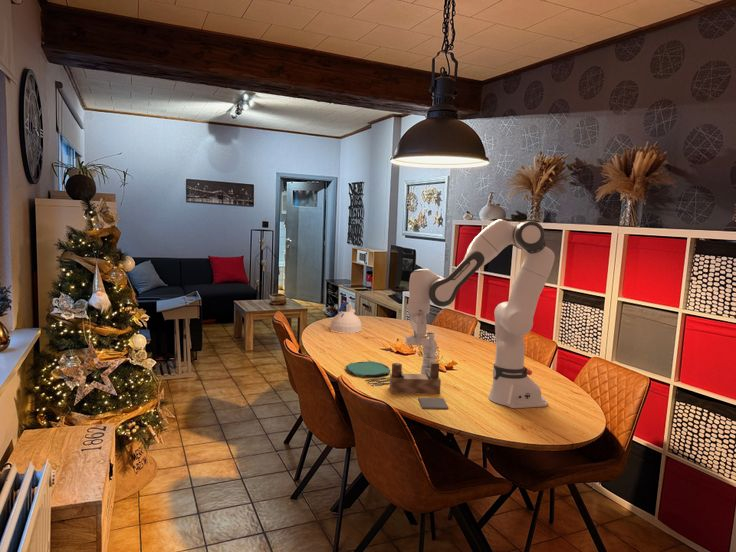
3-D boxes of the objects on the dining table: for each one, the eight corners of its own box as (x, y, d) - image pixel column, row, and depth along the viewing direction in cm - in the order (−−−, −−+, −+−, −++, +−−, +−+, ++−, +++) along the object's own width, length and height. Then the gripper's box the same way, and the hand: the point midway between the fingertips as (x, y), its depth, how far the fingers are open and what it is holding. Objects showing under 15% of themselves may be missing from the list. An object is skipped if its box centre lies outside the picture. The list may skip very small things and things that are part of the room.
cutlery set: (378, 363, 246) (379, 359, 245) (406, 384, 218) (406, 379, 218) (340, 367, 238) (340, 362, 238) (364, 389, 211) (364, 384, 210)
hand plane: (436, 388, 213) (438, 360, 211) (439, 393, 206) (441, 365, 205) (389, 387, 212) (390, 359, 210) (391, 393, 205) (392, 364, 203)
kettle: (367, 329, 321) (368, 301, 318) (353, 335, 302) (354, 306, 300) (339, 325, 329) (340, 298, 327) (323, 331, 310) (324, 302, 308)
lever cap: (427, 342, 209) (427, 333, 208) (428, 345, 204) (429, 336, 204) (405, 342, 208) (405, 333, 208) (406, 345, 204) (407, 336, 203)
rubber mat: (443, 399, 199) (443, 398, 199) (448, 409, 190) (448, 407, 190) (418, 399, 199) (418, 397, 199) (422, 408, 189) (422, 407, 189)
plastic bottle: (425, 373, 233) (427, 331, 230) (438, 376, 229) (440, 333, 226) (417, 376, 228) (419, 333, 226) (430, 379, 224) (432, 335, 221)
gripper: (431, 313, 195) (429, 348, 196) (422, 304, 215) (421, 335, 216) (415, 312, 194) (413, 347, 196) (407, 303, 214) (406, 335, 216)
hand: (417, 341), depth 206 cm, fingers closed on lever cap, 4 cm apart
